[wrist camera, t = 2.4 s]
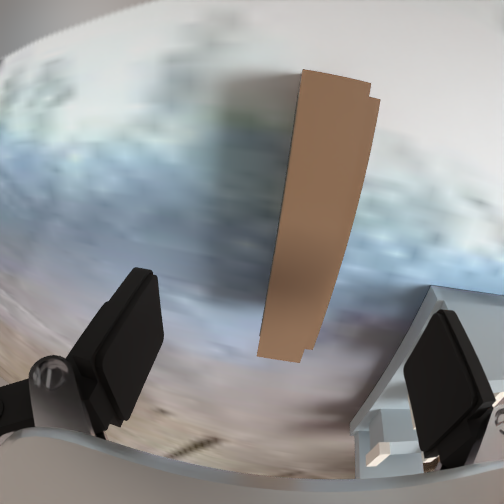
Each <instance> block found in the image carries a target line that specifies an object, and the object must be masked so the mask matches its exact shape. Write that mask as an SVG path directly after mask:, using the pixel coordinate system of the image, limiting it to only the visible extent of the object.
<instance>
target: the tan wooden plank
mask: <svg viewBox="0 0 504 504" xmlns="http://www.w3.org/2000/svg"><path fill="white" fill-rule="evenodd" d="M370 87H371V83H368V82H364V81H360V80H356V79H351V78H347V77H342V76H337V75H332V74H327V73H322V72H316V71H311V70H305V69H303V70H302V74H301V82H300V89H299V93H298V96H297V103H296V110H295V118H294V125H293V132H292V138H291V145H290V152H289V159H288V165H287V172H286V179H285V185H284V192H283V198H282V205H281V211H280V217H279V223H278V230H277V236H276V242H275V248H274V254H273V260H272V266H271V272H270V278H269V284H268V290H267V295H266V301H265V307H264V313H263V318H262V324H261V330H260V335H259V336H260V340H259V346H258V352H257V356H258V357H264V358H270V359H277V360H283V361H290V362H297V363H300V361H301V358H302V355H303V352H304V349H310V350H313V348H314V345H315V342H316V339H317V336H318V334H319V331H320V328H321V325H322V322H323V319H324V316H325V313H326V311H327V308H328V305H329V302H330V298H331V295H332V292H333V289H334V286H335V283H336V280H337V276H338V273H339V270H340V267H341V263H342V260H343V257H344V253H345V250H346V246H347V243H348V239H349V236H350V232H351V229H352V225H353V221H354V217H355V214H356V210H357V206H358V202H359V198H360V194H361V190H362V186H363V182H364V178H365V173H366V169H367V165H368V160H369V156H370V151H371V146H372V142H373V137H374V132H375V127H376V122H377V116H378V111H379V105H380V99H376V98H372V97H369V93H370Z"/></svg>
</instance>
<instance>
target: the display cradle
mask: <svg viewBox="0 0 504 504" xmlns="http://www.w3.org/2000/svg"><path fill="white" fill-rule="evenodd" d="M440 309H443V310H453V311H455V313H456V314H457V316H458V318H459V320H460V322H461V324H462V326H463V328H464V330H465V332H466V334H467V336H468V338H469V340H470V342H471V344H472V346H473V348H474V350H475V352H476V354H477V356H478V359H479V361H480V363H481V365H482V367H483V370H484V372H485V374H486V377H487V379H488V381H489V384H490V386H491V389H492V391H493V394H494V396H495V399H496V401H495V402H494V404H493V405H492V406H493V407H494V406H495V405H496V404H497V403H498V402H499V401H500V400H501V399H502V398H503V397H504V296H503V295H495V294H488V293H481V292H474V291H468V290H461V289H454V288H447V287H440V286H433V285H431V286H430V288H429V291H428V293H427V295H426V297H425V299H424V301H423V303H422V305H421V307H420V309H419V311H418V313H417V315H416V317H415V319H414V321H413V323H412V325H411V327H410V328H409V330H408V332H407V334H406V336H405V338H404V339H403V341H402V343H401V345H400V346H399V348H398V350H397V352H396V353H395V355H394V357H393V359H392V360H391V362H390V364H389V365H388V367H387V368H386V370H385V372H384V373H383V375H382V377H381V378H380V380H379V381H378V383H377V384H376V386H375V387H374V389H373V391H372V392H371V394H370V395H369V397H368V398H367V399H366V401H365V402H364V404H363V405H362V407H361V408H360V410H359V411H358V412H357V414H356V415H355V417H354V418H353V419H352V421H351V422H350V436H354V437H355V479H368V478H384V477H395V476H404V475H413V474H420V473H424V471H423V463H426V462H431V461H433V460H434V459H435V458H437V457H438V456H437V457H433V458H426V459H424V454H423V451H421V450H420V447H419V442H418V437H417V432H416V427H415V422H414V417H413V412H412V408H411V403H410V399H409V395H408V390H407V386H406V382H405V378H404V374H403V368H404V365H405V363H406V361H407V360H408V358H409V356H410V355H411V353H412V351H413V350H414V348H415V346H416V344H417V343H418V341H419V339H420V337H421V335H422V334H423V332H424V330H425V328H426V326H427V324H428V323H429V321H430V319H431V317H432V315H433V314H434V313H436V312H437V311H438V310H440Z"/></svg>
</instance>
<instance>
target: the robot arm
mask: <svg viewBox="0 0 504 504" xmlns="http://www.w3.org/2000/svg"><path fill="white" fill-rule="evenodd" d="M163 339H164V331H163V323H162V315H161V306H160V297H159V287H158V278H157V276H156V275H153V272H152V270H149V269H143V268H137V267H135V268H133V269H132V271H131V272H130V273H129V275H128V276H127V277H126V279H125V280H124V281H123V283H122V284H121V285H120V287H119V288H118V289H117V291H116V292H115V293H114V295H113V296H112V297H111V299H110V300H109V301H108V302H105V303H104V305H103V306H102V307H101V308H100V310H99V311H98V312H97V314H96V315H95V317H94V318H93V319H92V321H91V322H90V324H89V325H88V326H87V328H86V329H85V331H84V332H83V334H82V335H81V337H80V338H79V339H78V341H77V342H76V344H75V345H74V347H73V348H72V350H71V351H70V353H69V354H68V356H67V357H66V358H64V357H61V356H57V355H50V356H46V357H43V358H41V359H39V360H38V361H37V362H35V364H34V365H33V366H32V367H31V370H30V372H29V379H25V380H22V381H19V382H16V383H12V384H9V385H6V386H2V387H0V504H504V405H498V406H496V407H495V408H494V409H493V406H492V405H493V404H494V402H495V401H496V399H495V396H494V394H493V391H492V389H491V386H490V384H489V381H488V379H487V377H486V374H485V372H484V370H483V367H482V365H481V363H480V361H479V359H478V356H477V354H476V352H475V350H474V348H473V346H472V344H471V342H470V340H469V338H468V336H467V334H466V332H465V330H464V328H463V326H462V324H461V322H460V320H459V318H458V316H457V314H456V313H455V311H453V310H443V309H440V310H438V311H437V312H436V313H434V314H433V315H432V317H431V319H430V321H429V323H428V324H427V326H426V328H425V330H424V332H423V334H422V335H421V337H420V339H419V341H418V343H417V344H416V346H415V348H414V350H413V351H412V353H411V355H410V356H409V358H408V360H407V361H406V363H405V365H404V368H403V374H404V378H405V382H406V386H407V390H408V395H409V399H410V403H411V408H412V412H413V417H414V422H415V427H416V432H417V437H418V442H419V447H420V450H421V451H423V454H424V459H426V458H433V457H437V456H439V459H440V461H439V463H438V465H437V466H436V468H435V470H434V471H433V472H427V473H420V474H413V475H404V476H395V477H384V478H368V479H299V478H284V477H273V476H263V475H254V474H246V473H239V472H233V471H226V470H220V469H215V468H210V467H204V466H200V465H195V464H190V463H186V462H182V461H177V460H173V459H169V458H165V457H161V456H158V455H154V454H150V453H147V452H143V451H140V450H136V449H133V448H130V447H127V446H124V445H120V444H117V443H114V442H111V441H109V440H108V437H107V435H106V432H105V431H106V430H107V429H108V426H109V424H112V425H115V426H118V427H121V425H122V423H123V420H125V421H127V420H128V419H129V418H130V416H131V413H132V411H133V409H134V406H135V404H136V402H137V399H138V397H139V395H140V393H141V390H142V388H143V386H144V383H145V381H146V379H147V377H148V374H149V372H150V370H151V368H152V365H153V363H154V361H155V359H156V356H157V354H158V352H159V350H160V348H161V345H162V343H163Z"/></svg>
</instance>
